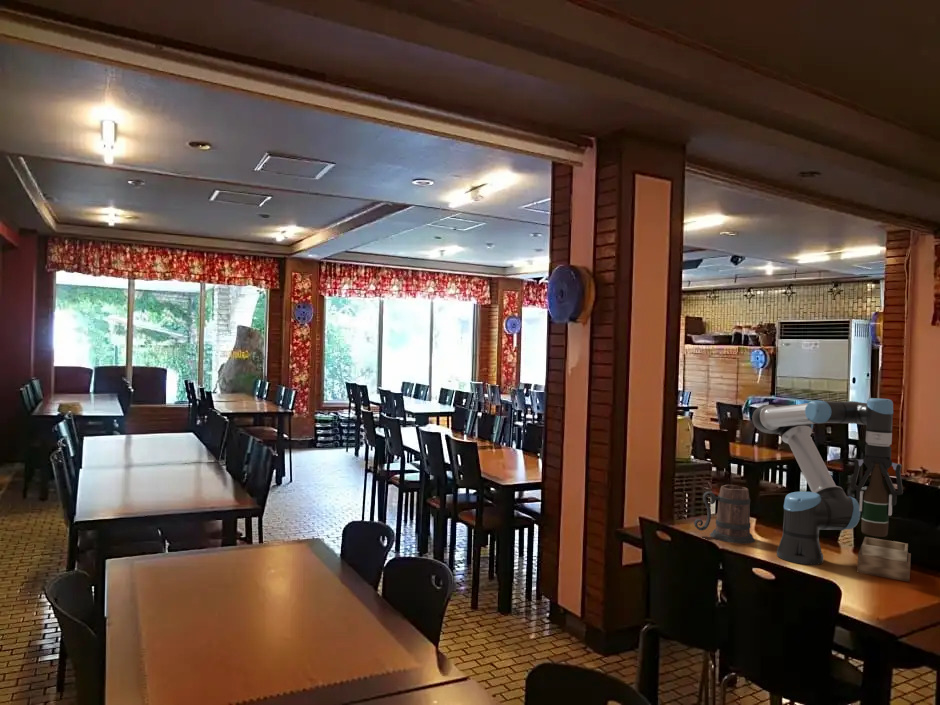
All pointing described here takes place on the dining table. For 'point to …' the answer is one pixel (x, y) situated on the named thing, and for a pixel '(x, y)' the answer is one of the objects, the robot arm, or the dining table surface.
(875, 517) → the beer bottle
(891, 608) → the dining table surface
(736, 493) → the tankard
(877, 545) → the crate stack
